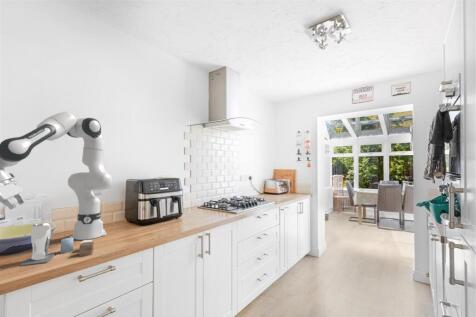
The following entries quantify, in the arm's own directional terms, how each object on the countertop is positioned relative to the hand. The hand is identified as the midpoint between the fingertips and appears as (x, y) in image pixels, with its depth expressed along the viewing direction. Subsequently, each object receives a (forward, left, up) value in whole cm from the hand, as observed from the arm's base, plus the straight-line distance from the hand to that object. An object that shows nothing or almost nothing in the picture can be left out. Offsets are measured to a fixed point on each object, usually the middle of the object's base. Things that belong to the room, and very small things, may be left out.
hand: (18, 205), depth 104 cm
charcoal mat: (+3, +9, -24) cm, 26 cm away
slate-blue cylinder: (-5, +18, -24) cm, 30 cm away
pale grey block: (-5, +26, -24) cm, 36 cm away
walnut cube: (+2, +27, -24) cm, 37 cm away
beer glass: (+3, +10, -24) cm, 26 cm away
